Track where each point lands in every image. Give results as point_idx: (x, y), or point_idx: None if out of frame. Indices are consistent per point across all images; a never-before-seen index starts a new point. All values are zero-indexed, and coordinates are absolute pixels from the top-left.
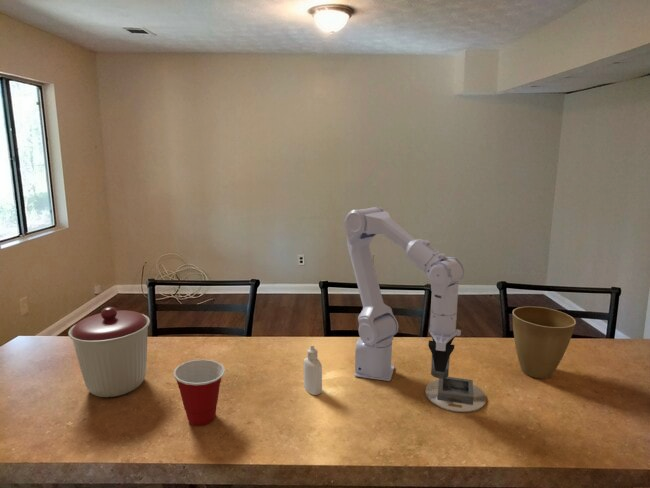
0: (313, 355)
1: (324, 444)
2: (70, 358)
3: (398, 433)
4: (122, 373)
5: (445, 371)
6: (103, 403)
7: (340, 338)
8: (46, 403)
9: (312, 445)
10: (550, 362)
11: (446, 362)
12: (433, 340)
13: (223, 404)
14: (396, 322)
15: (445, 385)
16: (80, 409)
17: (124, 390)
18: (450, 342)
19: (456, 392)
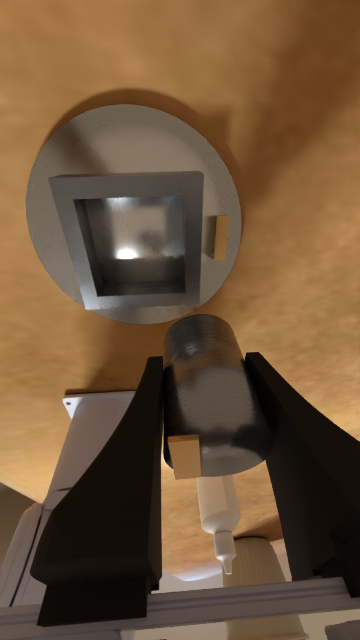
0: (233, 545)
1: (355, 420)
2: (208, 564)
3: (336, 346)
4: (275, 571)
5: (236, 344)
6: (273, 537)
7: (4, 478)
8: (276, 548)
9: (355, 429)
10: None
11: (295, 393)
12: (160, 518)
13: (265, 500)
14: (17, 582)
15: (101, 275)
16: (283, 539)
17: (265, 544)
18: (152, 470)
19: (130, 237)
